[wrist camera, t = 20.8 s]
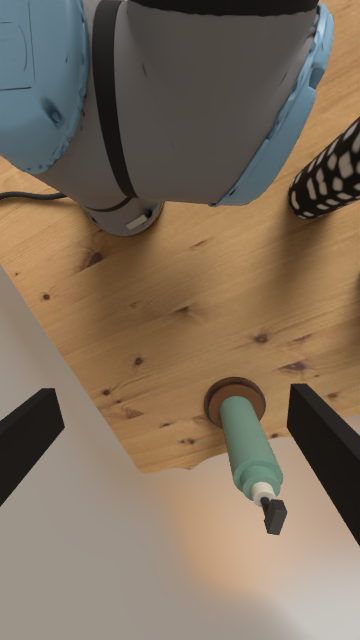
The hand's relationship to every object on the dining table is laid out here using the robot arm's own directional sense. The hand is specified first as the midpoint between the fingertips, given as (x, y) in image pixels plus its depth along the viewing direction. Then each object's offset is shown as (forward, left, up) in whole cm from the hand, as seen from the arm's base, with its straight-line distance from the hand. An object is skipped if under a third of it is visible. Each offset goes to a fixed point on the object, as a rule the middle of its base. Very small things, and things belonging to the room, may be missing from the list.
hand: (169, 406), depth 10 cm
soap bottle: (+10, -23, -27) cm, 37 cm away
